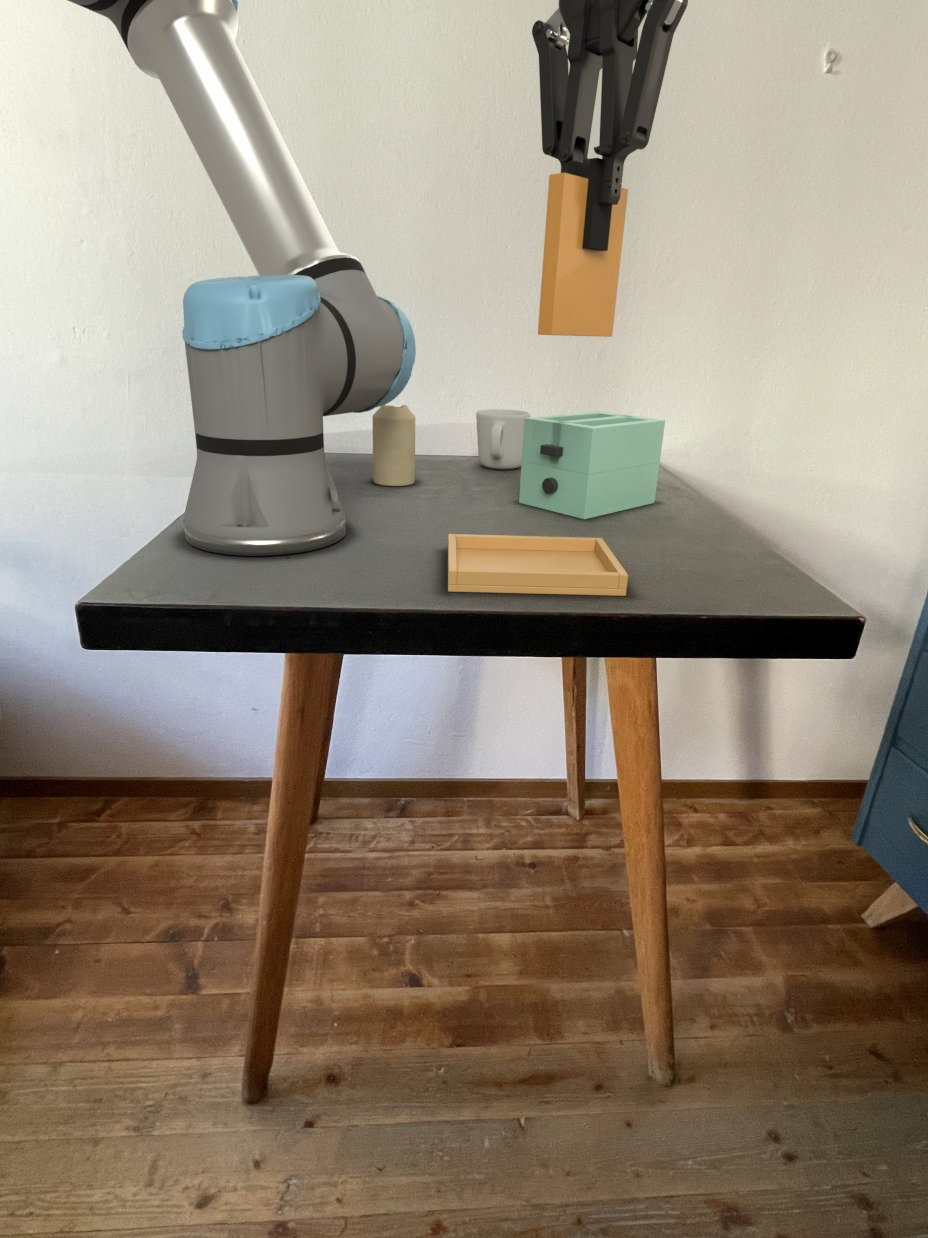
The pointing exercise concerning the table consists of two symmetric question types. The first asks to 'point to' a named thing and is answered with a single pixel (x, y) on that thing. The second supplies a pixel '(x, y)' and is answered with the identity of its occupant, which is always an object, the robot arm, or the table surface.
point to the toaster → (590, 462)
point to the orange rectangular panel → (578, 264)
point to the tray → (533, 565)
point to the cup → (500, 437)
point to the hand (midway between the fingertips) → (584, 249)
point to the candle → (394, 446)
